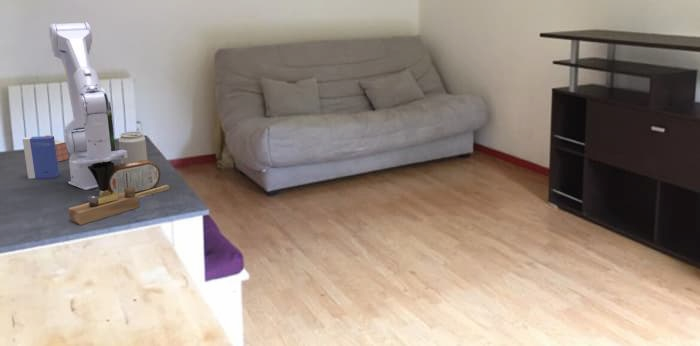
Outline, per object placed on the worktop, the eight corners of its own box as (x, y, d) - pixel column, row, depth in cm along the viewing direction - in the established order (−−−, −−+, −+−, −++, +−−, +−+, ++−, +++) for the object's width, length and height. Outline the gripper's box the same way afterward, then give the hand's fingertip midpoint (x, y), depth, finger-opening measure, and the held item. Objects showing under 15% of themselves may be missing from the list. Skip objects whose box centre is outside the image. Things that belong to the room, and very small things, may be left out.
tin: (158, 185, 193) (155, 156, 190) (163, 188, 191) (160, 158, 188) (104, 197, 184) (101, 166, 181) (109, 200, 181) (106, 169, 179)
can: (140, 177, 200) (137, 137, 196) (116, 176, 201) (112, 135, 198) (153, 170, 207) (149, 130, 203) (129, 168, 208) (125, 129, 205)
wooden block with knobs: (69, 220, 168) (67, 200, 166) (128, 202, 180) (126, 184, 178) (80, 225, 165) (78, 205, 163) (139, 207, 176) (137, 188, 175)
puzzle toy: (58, 156, 221) (56, 139, 220) (69, 159, 218) (67, 141, 216) (42, 160, 217) (39, 143, 215) (52, 163, 214) (50, 145, 212)
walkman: (59, 174, 203) (53, 134, 199) (56, 177, 200) (50, 137, 196) (31, 175, 202) (25, 135, 198) (27, 178, 199) (21, 138, 196)
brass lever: (92, 207, 167) (91, 198, 167) (87, 204, 169) (86, 196, 168) (118, 199, 172) (118, 191, 172) (114, 197, 174) (113, 189, 173)
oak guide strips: (99, 195, 185) (99, 191, 185) (147, 181, 196) (147, 178, 196) (120, 203, 179) (120, 199, 179) (169, 189, 190) (169, 185, 190)
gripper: (79, 147, 168) (85, 200, 172) (132, 136, 179) (136, 186, 183) (64, 142, 173) (71, 194, 177) (116, 132, 183) (121, 181, 187)
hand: (103, 190), depth 180 cm, fingers closed
